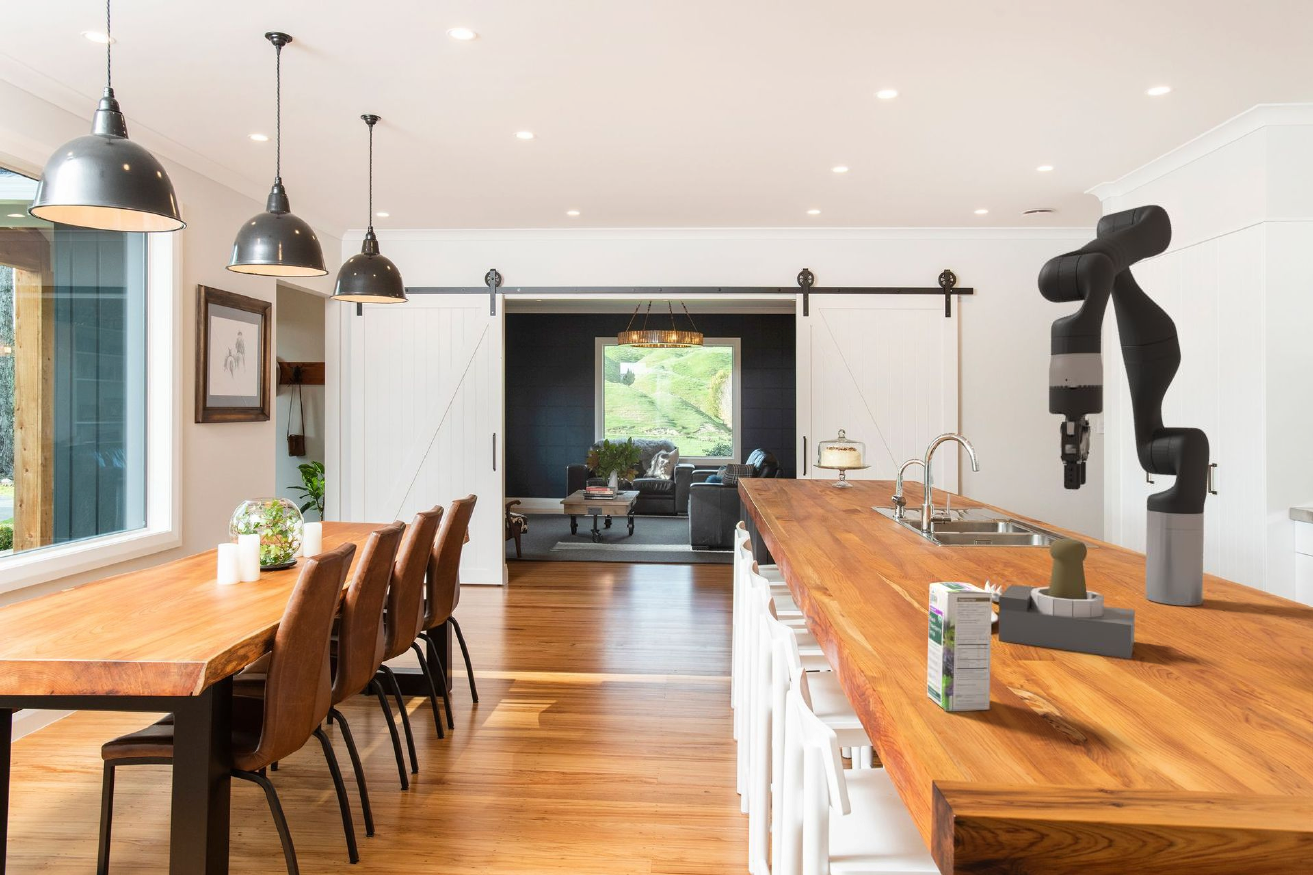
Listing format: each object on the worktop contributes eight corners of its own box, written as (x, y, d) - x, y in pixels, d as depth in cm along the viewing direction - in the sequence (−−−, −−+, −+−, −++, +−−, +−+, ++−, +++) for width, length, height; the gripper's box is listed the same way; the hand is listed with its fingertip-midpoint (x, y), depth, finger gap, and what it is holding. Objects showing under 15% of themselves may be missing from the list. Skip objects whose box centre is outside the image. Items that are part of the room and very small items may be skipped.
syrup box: (925, 695, 103) (926, 581, 102) (970, 694, 103) (971, 581, 103) (945, 712, 97) (946, 591, 96) (992, 710, 97) (993, 590, 97)
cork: (1095, 614, 124) (1096, 543, 124) (1052, 612, 125) (1053, 542, 125) (1081, 605, 130) (1082, 537, 130) (1041, 604, 131) (1042, 536, 131)
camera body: (1010, 625, 137) (1011, 581, 137) (1134, 641, 127) (1135, 593, 127) (998, 640, 128) (999, 593, 128) (1130, 659, 118) (1131, 607, 118)
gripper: (1054, 385, 135) (1054, 482, 136) (1042, 383, 123) (1042, 489, 124) (1106, 384, 131) (1105, 484, 132) (1099, 382, 119) (1098, 492, 120)
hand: (1075, 486), depth 128 cm, fingers open, 8 cm apart
